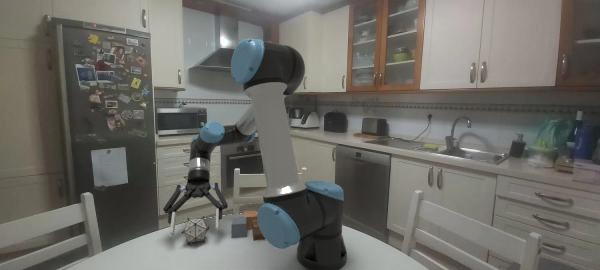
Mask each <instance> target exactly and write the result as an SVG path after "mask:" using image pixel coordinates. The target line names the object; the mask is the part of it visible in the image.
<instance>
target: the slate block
mask: <svg viewBox="0 0 600 270" xmlns="http://www.w3.org/2000/svg"><path fill="white" fill-rule="evenodd" d="M230 230H231V233H230V235H231V239H235V238H237V239H238V238H247V230H246V217H243V216H242V217H232V218H231V229H230Z"/></svg>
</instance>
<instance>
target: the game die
mask: <svg viewBox="0 0 600 270" xmlns="http://www.w3.org/2000/svg"><path fill="white" fill-rule="evenodd" d="M186 219H187V223H186V225H185V228H184V229H183V230H182V231H181V234H184V235H185V238H186V240H187V245H188V246H189V245H190V243H195V242H202V243H206V241H205V237H206V234H207V231H209V230H210V227H209V226H207V224H206V223H207V222H206V221H205V220H204V219H205V215H204V216H202V217H200V218H192V219H190V217H187V218H186Z"/></svg>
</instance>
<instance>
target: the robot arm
mask: <svg viewBox="0 0 600 270" xmlns="http://www.w3.org/2000/svg"><path fill="white" fill-rule="evenodd" d="M305 73H306V64H305V60H304V58H303V55H302V54H301V53H300V52H299V51H298V50H297V49H295V48H294V47H292V46H290V45H285V44H280V43H275V42H271V41H265V40H262V39H260V38H258V39H255V38H244V39H242V40H241V41H240V42H239V43H238V44H237V46H236V47H235V48H234V51H233V54H232V56H231V61H230V74H231V77H232V79H233V80H234V81H235V82H236V83H237V84H239V85H242V88H243V93H244V95H245V96H246V97H248V98H249V99H250V100H251V103H250V104H249V106H248V107H247V108H246V109H245V111H244V112H243V114H242V115H241V116H240V118H239V119H237V121H236V122H235V124H231V125H223V124H222V123H220V122H219V121H216V120H210V121H208V122H206V123H205V124H204V125H203V127H202V128H201V129H200V131H199V133H198V134H197V135H195V136H193V137H192V139H191V142H190V146H189V147H190V149H189V150H190V151H189V163H188V173H187V180H186V185H181V184H180V183H178V184H176V189H175V191H174V192H173V193H172V195H171V197H170V198H169V199H168V201H167V202H166V204H165V205H164V207H163V208H162V210H163V212H164V213H165V214H168V216H167V223H168V224H169V225H170V227H169V233H170V235H171V236H175V230H176V221H177V213H176V212H178V210H179V209H180V208H181V207H182V206H183V205H184V204H185V203H187V201H189V200H190V199H197V198H199V199H200V198H201V199H202V198H203V197H205V198H206V199H207V200H208V201H210V203H211V204H212V205H213V206H214V207H215V208H216V209H215V211H216V212H215V231H219V228H220V227H219V223H220V220H222V219H223V210H226V209H228V207H229V206H228V205H229V204H228V202H227V201H226V198H225V197H224V195H223V193H222V192H221V190H220V188H219V183H218V182H214V183H213V184H211V183H210V182H211V181H210V180H211V175H210V174H211V173H210V172H211V159H212V157H211V156H212V153H213V152H214V151H215V149H216V147H223V146H229V145H239V144H247V143H251V142H253V141H254V140H255V137H256V133H257V138H258V139H257V140H258V144H259V149H260V154H261V160H262V166H263V171H264V177H265V182H266V189H265V191H264V192H263V194H262V200H263V204H262V205H261V206H260V207H259V208H258V209H257V221H258V225H259V228H260V231H261V233H262V234H263V236H264V237H265V239H264V240H267V242H268V243H269V244H270V245H271V246H273V247H274V248H277V249H281V250H283V249H286V248H289V247H293V246H295V245H297V247H296V258H297V261H298V262H299V263H300V264H301V266H303V267H305V268H307V269H309V270H340V269H341V268H342V267H344V265H345V264H346V263H347V258H348V257H347V256H348V253H347V247H346V244H345V240H344V238H343V219H344V218H343V217H344V214H343V213H344V202H345V198H344V188H342V187H341V186H340V185H338V184H336V183H334V182H330V181H326V180H308V181H305V182H304V183H302V182H301V181H300V178H299V173H298V167H297V161H296V158H295V152H294V146H293V141H292V136H291V130H290V124H289V120H288V114H287V109H286V104H285V99H286V97H290V96H292V95H293V94H294V93H295V92H296V91H297V90H298V89H299V87H300V86H301V84H302V82H303V80H304V77H305ZM211 189H212V191H215V194H216V196H217V198H218V199H219V201H220V202H219V201H218V200H217V199H216V198H215V197H214V196H213V195H212V194H211V193H210V190H211ZM184 191H185V193H184V195H182V197H181V198H179V197H180V196H181V194H182V193H183V192H184Z"/></svg>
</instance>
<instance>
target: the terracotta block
mask: <svg viewBox="0 0 600 270" xmlns="http://www.w3.org/2000/svg"><path fill="white" fill-rule="evenodd" d="M257 213H258V210H245V211H243V213H242V217H246V231H248V230H249V231H251V230H252V220H257Z"/></svg>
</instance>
